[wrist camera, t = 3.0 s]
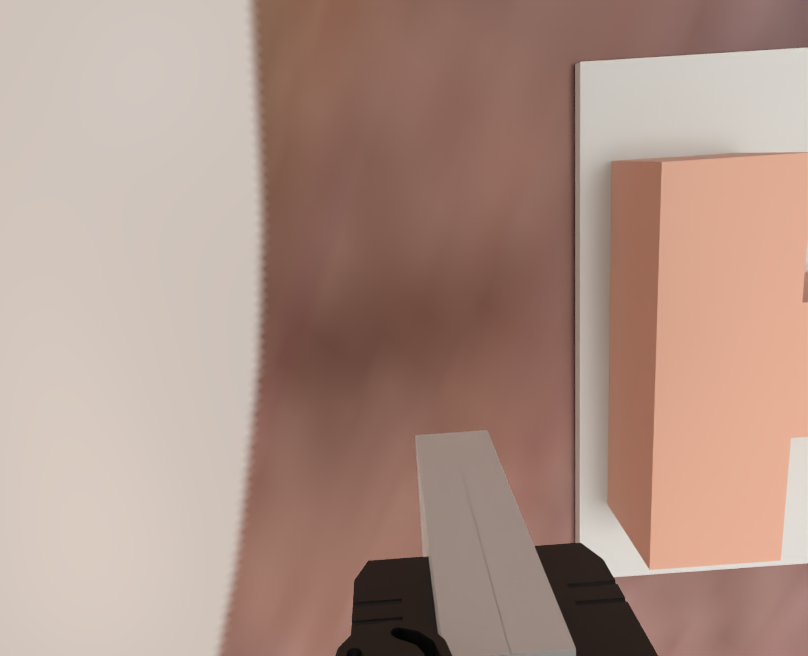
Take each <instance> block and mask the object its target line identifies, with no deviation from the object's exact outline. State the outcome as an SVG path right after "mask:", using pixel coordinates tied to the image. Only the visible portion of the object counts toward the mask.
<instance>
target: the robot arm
mask: <svg viewBox="0 0 808 656" xmlns="http://www.w3.org/2000/svg"><path fill="white" fill-rule="evenodd" d="M415 439H416V455H417V471H418V487H419V503H420V519H421V535H422V551H423V557H414V558H400V559H387V560H374V561H368V562H367V563H366V565H365V566H364V568H363V569H362V571H361V572H360V573H359V575H358V576H357V578H356V579H355V581H354V596H353V613H352V629H351V636H350V637H349V638H348V639H347V640H346V641H345V642H344V643H343V644H342V645H341V646H340V647H339V648H338V650H337V653H336V656H658V655H657V653H656V651H655V650H654V648H653V646H652V644H651V643H650V641H649V639H648V637H647V636H646V634H645V632H644V630H643V628H642V627H641V625H640V623H639V621H638V620H637V618H636V616H635V614H634V613H633V611H632V609H631V607H630V606H629V604H628V602H626V601H625V597H624V595H623V593H622V591H621V590H620V588H619V586H618V584H616V583H615V579H614V577H613V576H612V574H611V572H610V570H609V569H608V567H607V565H606V563H605V561H604V560H603V559H602V558H601V557H599V556H598V555H597V554H595V553H594V552H593V551H591V550H590V549H589V548H587V547H586V546H585V545H583V544H582V543H570V544H556V545H543V546H534V544H533V541H532V539H531V537H530V534H529V532H528V529H527V527H526V524H525V522H524V519H523V517H522V514H521V512H520V509H519V507H518V504H517V502H516V500H515V497H514V495H513V492H512V490H511V487H510V485H509V482H508V480H507V477H506V475H505V472H504V470H503V468H502V465H501V463H500V460H499V458H498V455H497V453H496V450H495V448H494V445H493V443H492V440H491V438H490V435H489V433H488V431H487V430H481V431H467V432H453V433H440V434H426V435H415Z"/></svg>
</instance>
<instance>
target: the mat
mask: <svg viewBox="0 0 808 656" xmlns="http://www.w3.org/2000/svg"><path fill="white" fill-rule="evenodd" d="M768 152H808V48H793V49H777V50H761V51H745V52H729V53H713V54H697V55H681V56H665V57H649V58H634V59H618V60H602V61H586V62H579V63H577V64H575V543H582V544H583V545H585V546H586V547H587V548H589V549H590V550H591V551H593V552H594V553H595V554H597V555H598V556H599V557H601V558H602V559H603V560H604V561H605V563H606V565H607V567H608V569H609V570H610V572H611V574H612V576H613V577H622V576H636V575H650V574H664V573H678V572H692V571H706V570H719V569H733V568H747V567H761V566H775V565H789V564H803V563H808V437H798V438H791V444H790V456H789V468H788V480H787V492H786V504H785V516H784V528H783V539H782V551H781V561H767V562H753V563H739V564H726V565H712V566H698V567H684V568H670V569H656V570H649V568H648V567H647V565H646V564H645V562H644V561H643V559H642V557H641V556H640V554H639V553H638V551H637V550H636V548H635V547H634V545H633V543H632V542H631V540H630V539H629V537H628V536H627V534H626V532H625V531H624V529H623V528H622V526H621V525H620V523H619V522H618V520H617V518H616V517H615V515H614V514H613V512H612V511H611V509H610V508H609V506H608V504H607V502H608V422H609V342H610V262H611V182H612V161H618V160H634V159H649V158H664V157H680V156H695V155H711V154H726V153H768ZM805 272H808V241H807V253H806V265H805Z"/></svg>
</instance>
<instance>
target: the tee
mask: <svg viewBox="0 0 808 656" xmlns="http://www.w3.org/2000/svg"><path fill="white" fill-rule="evenodd" d="M807 241H808V152H768V153H726V154H711V155H695V156H680V157H664V158H649V159H634V160H618V161H612V182H611V262H610V342H609V422H608V502H607V504H608V506H609V508H610V509H611V511H612V512H613V514H614V515H615V517H616V518H617V520H618V522H619V523H620V525H621V526H622V528H623V529H624V531H625V532H626V534H627V536H628V537H629V539H630V540H631V542H632V543H633V545H634V547H635V548H636V550H637V551H638V553H639V554H640V556H641V557H642V559H643V561H644V562H645V564H646V565H647V567H648V568H649V570H656V569H670V568H684V567H698V566H712V565H726V564H739V563H753V562H767V561H781V551H782V539H783V528H784V516H785V504H786V492H787V480H788V468H789V456H790V444H791V438H798V437H808V272H805V265H806V253H807Z"/></svg>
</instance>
